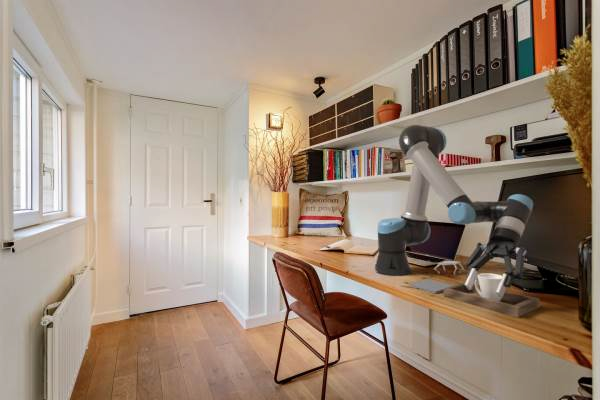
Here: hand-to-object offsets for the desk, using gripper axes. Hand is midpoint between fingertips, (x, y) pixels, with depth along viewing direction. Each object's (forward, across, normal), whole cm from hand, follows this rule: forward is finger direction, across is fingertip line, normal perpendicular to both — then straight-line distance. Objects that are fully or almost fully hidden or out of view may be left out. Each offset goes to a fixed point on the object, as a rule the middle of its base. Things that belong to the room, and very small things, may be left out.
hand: (482, 291), depth 87 cm
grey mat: (+1, +19, -4) cm, 20 cm away
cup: (0, 0, -6) cm, 6 cm away
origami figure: (-15, +27, -20) cm, 37 cm away
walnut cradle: (0, 0, -5) cm, 5 cm away
